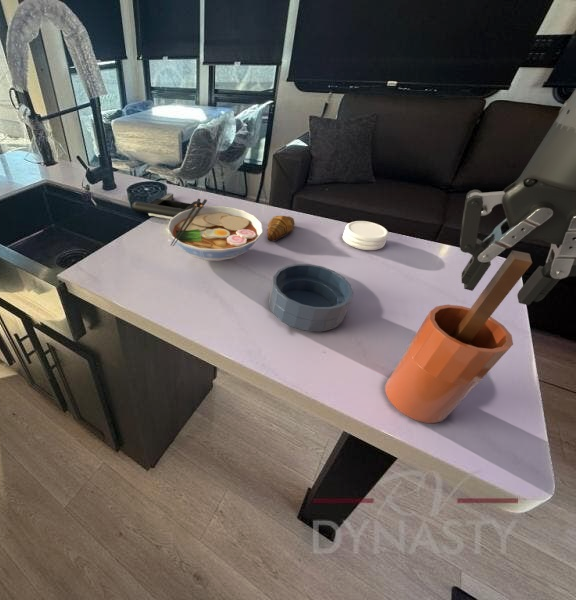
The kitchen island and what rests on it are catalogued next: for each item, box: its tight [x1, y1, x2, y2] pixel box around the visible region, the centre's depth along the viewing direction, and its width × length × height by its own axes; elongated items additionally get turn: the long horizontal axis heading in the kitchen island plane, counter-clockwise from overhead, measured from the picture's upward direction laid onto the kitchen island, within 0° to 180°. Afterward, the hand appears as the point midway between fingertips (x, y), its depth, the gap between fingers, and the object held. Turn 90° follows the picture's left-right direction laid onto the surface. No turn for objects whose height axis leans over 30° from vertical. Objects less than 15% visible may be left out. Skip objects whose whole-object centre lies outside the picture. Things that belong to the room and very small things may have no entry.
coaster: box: [342, 220, 390, 251], centre depth 84 cm, size 10×10×4 cm
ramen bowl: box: [167, 198, 264, 262], centre depth 81 cm, size 25×23×8 cm
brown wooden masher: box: [446, 250, 533, 346], centre depth 38 cm, size 5×5×16 cm
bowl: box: [268, 263, 354, 332], centre depth 64 cm, size 14×14×6 cm
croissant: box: [266, 215, 296, 242], centre depth 88 cm, size 14×7×5 cm, turn 142°
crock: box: [384, 304, 514, 424], centre depth 45 cm, size 8×8×15 cm
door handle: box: [131, 192, 202, 220], centre depth 103 cm, size 3×20×16 cm
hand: (494, 292), depth 36 cm, fingers open, 4 cm apart
